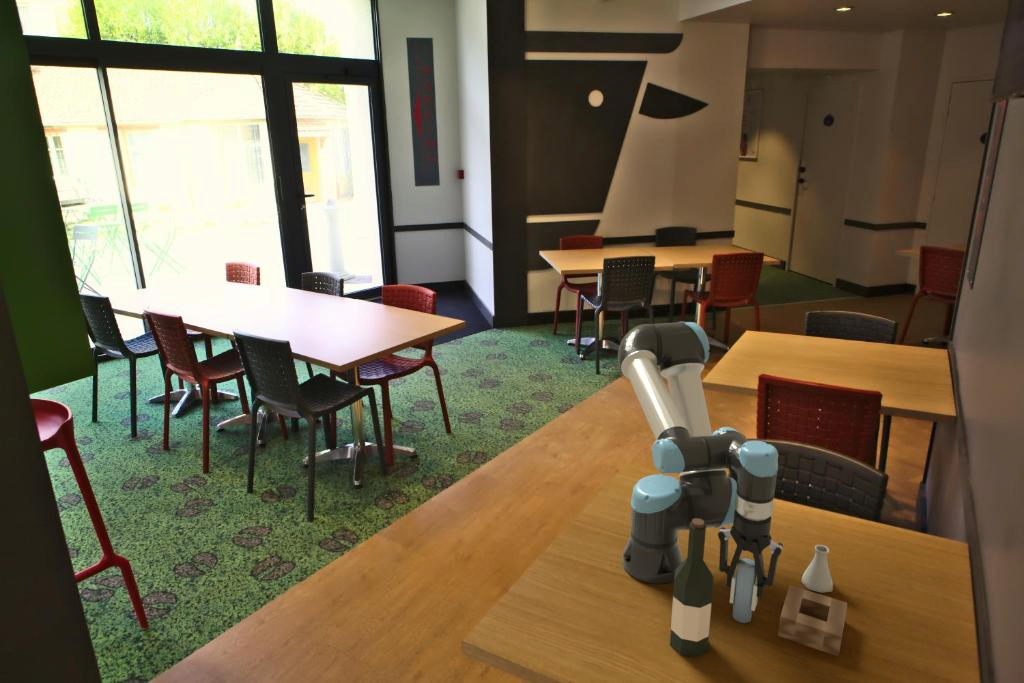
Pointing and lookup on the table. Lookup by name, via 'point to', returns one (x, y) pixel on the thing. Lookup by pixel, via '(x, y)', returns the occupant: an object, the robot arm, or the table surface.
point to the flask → (818, 572)
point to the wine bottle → (692, 597)
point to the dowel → (744, 590)
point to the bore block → (813, 620)
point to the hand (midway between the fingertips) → (743, 603)
